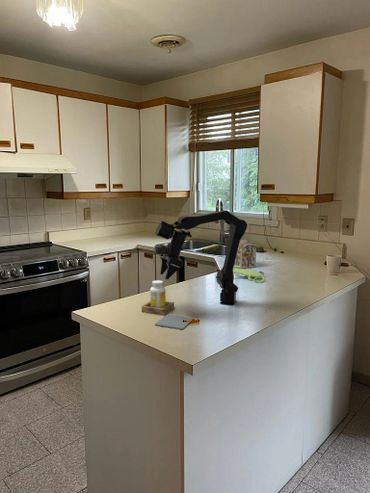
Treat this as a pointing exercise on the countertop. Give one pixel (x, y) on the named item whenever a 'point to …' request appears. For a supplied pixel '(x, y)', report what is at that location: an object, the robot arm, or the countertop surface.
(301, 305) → the countertop surface
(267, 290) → the countertop surface
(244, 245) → the decorative jar
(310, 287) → the countertop surface
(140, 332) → the countertop surface
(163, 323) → the slate mat
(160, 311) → the walnut holder
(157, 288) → the supplement bottle
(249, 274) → the figurine
